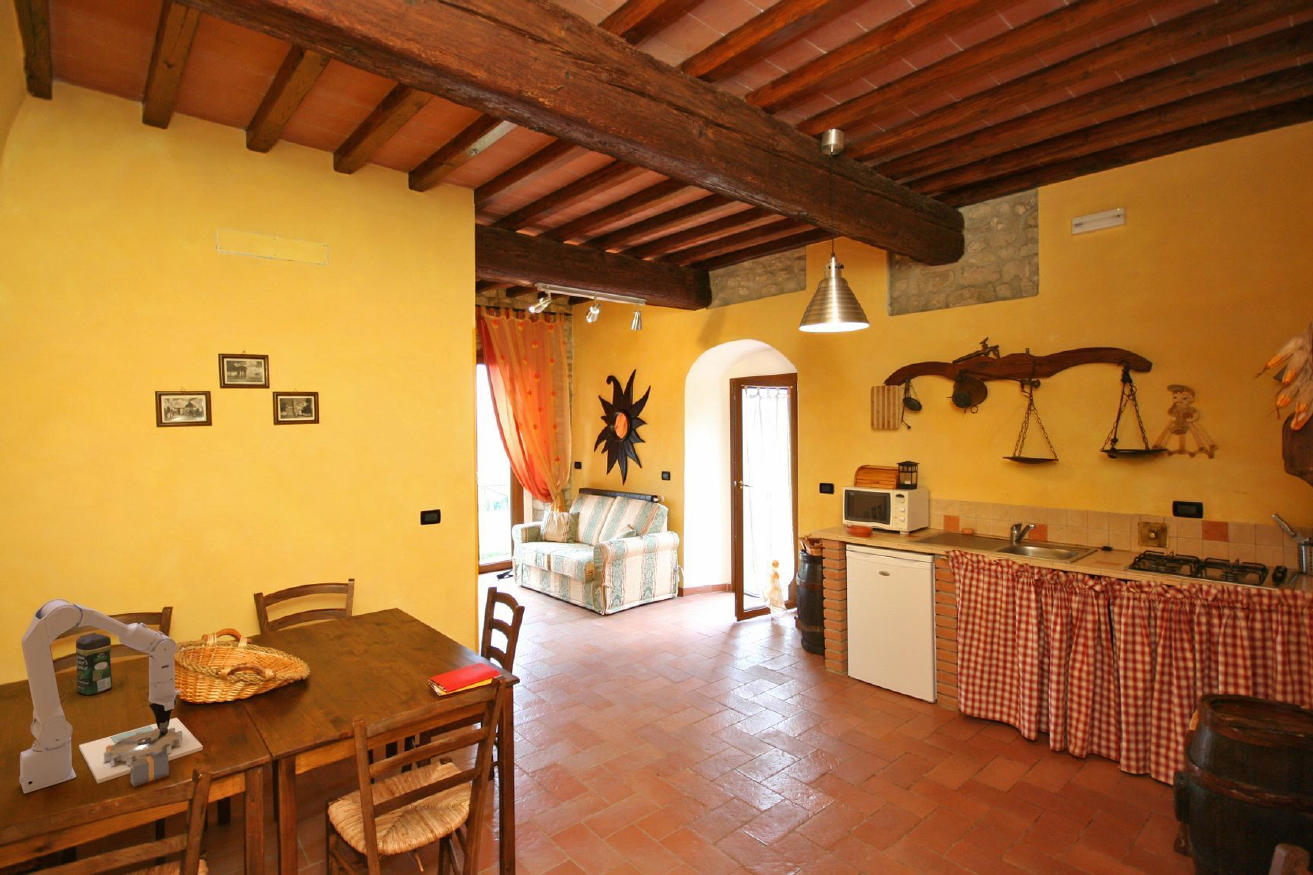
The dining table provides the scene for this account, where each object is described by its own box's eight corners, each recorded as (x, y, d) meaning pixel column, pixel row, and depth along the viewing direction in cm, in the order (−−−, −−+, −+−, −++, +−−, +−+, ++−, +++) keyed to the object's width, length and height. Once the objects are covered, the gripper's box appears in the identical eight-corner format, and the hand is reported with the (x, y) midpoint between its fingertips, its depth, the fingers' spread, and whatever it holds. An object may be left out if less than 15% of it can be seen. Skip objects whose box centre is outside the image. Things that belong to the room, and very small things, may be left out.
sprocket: (109, 772, 164) (108, 753, 164) (99, 749, 175) (99, 731, 175) (189, 748, 176) (188, 730, 176) (175, 728, 187) (174, 711, 187)
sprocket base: (97, 783, 162) (97, 778, 162) (79, 748, 179) (79, 744, 179) (202, 749, 178) (202, 745, 178) (176, 720, 195) (176, 716, 195)
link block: (133, 787, 160) (133, 766, 160) (130, 782, 162) (130, 761, 162) (168, 775, 165) (168, 755, 165) (165, 770, 167) (164, 751, 167)
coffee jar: (72, 691, 216) (71, 636, 215) (101, 683, 223) (100, 629, 222) (87, 697, 211) (85, 640, 211) (116, 688, 218) (115, 633, 218)
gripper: (187, 682, 180) (188, 730, 180) (172, 668, 189) (173, 714, 190) (155, 690, 174) (156, 740, 175) (141, 675, 184) (143, 723, 184)
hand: (163, 727), depth 182 cm, fingers closed, pressing on sprocket
